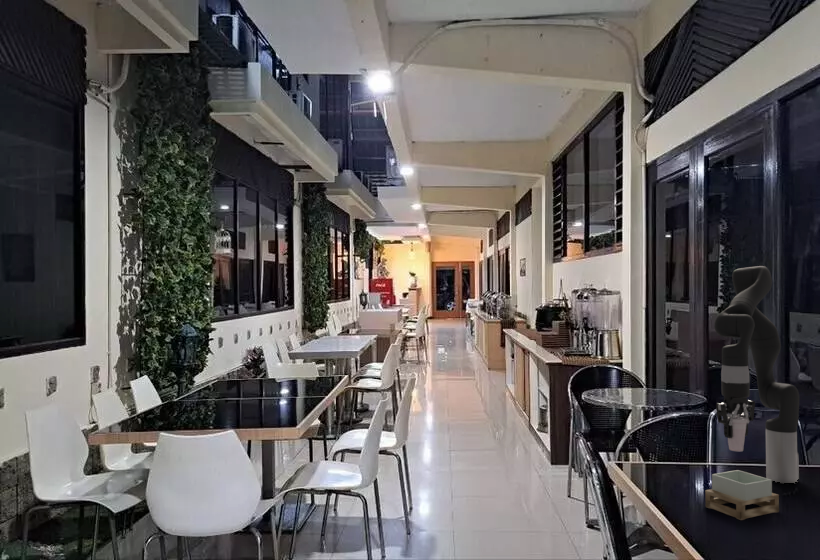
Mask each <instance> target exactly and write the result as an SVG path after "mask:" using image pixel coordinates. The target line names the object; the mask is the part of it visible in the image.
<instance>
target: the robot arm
mask: <svg viewBox="0 0 820 560" xmlns="http://www.w3.org/2000/svg"><path fill="white" fill-rule="evenodd" d="M731 277H732V285H733V288H734V292H735V294H736V295H735V296H734V297H733V298H732V299H731V301H730V303H729V306H727V307H726V308H725V309H724V310H722V311H721V312H720V313H719V314H718V315H717V316H716V318H715V321H714V331H715V332H716V334H717V335H718V336H720V337H723V338H738V339H739V341H738V342H737V343H735V344H729V345H728V344H727V345H724V346H722V348H721V373H720V377H721V378H720V380H721V383H720V384H721V387H720V388H721V395H722V396H723V397H724V399H723V401H722V402H721V403H719V402H716V404H715V409H716V416H717V423H720V424H722V425H723V435H724V438H726V439H728V438H732V437H733V430H732V426H731V425H732V423H733V422H732V419H735V418H736V416H737V415H738V414H739V417H740V416H741V417H744V418H747V419H748V422H747V424H746V432H745V437H747V436H748V434H749V423H750V422H753V421H754V418H755V408H756V401H754V400H749V399H748V398H749V397H750V396H751V393H750V390H751V389H750V387H751V386H750V370H749V369H750V368H749V348H750V351H751V355H752V359H753V365H754V368H755V369H754V370H755V374H756V383H757V391H758V397H759V400H760V402H761V404H762V405H763V406H764V407H765V408H767V409H772V410H777V411H778V412H779V413H778V416H777V417H774V418H770V419H767V420H766V421H765V467H766V468H765V470H766V471H765V474H766V475H765V476H766V477H765V478H767V479H771V480H772V482H773V481H775V482H774V483H777V482H780V483H779V484H784V483H794V484H796V483H795V482H797V483H798V481H797V480H798V479H799V480H800V473H799V471H800V468H799V467H800V465H799V464H800V463H799V455H800V454H799V452H798V430H797V429H798V425H799V418H800V417H799V416H800V393H799V390H798V388H797V387H796V386H795V385H793V384H789V383H783V382H776V380H775V378H774V370H773V369H774V365H775V363H776V361H777V359H778V356H779V354H780V352H781V348H782V345H781V341H780V336H779V332H778V329H777V327H776V325H775V324H774V323H773V321H772V320H770V319H769V318H768V317H767V316H766V315H765V314H764V313H762V311H761V310H759V308H757V306H758V305H759V304H760V302H761V301H762V300H763V299H764V298H765V297H766V296H767V295H768V294H769V292H770V290H771V288H772V285H773V281H772V280H773V279H772V274H771V272H770V270H769V268H768V267H766V266H765V265H764V266H763V265H759V266H758V265H757V266H748V267H741V268H737V269H735V270H733V272H732V275H731ZM727 418H729V421H728V420H727Z"/></svg>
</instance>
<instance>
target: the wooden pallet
mask: <svg viewBox="0 0 820 560" xmlns="http://www.w3.org/2000/svg"><path fill="white" fill-rule="evenodd" d="M779 496H780V494H778V493H774V492H772V496H767V497H762V498H757V499H752V500H748V501H744V500H741V499H739V498H736V497H733V496H730V495H727V494H724V493H721V492H718V491H715V490H712V488H711V489H710V488H709V489H706V490H705V498H704V499H705V508H708V509H712V510H714V511H717V512H720V513H723V514H725V515H727V516H731V517H733V518H736V519H737V520H740V521H744V520H746V519H749V518H754V517H759V516H763V515H767V514H773V513H774V514H775V513H779V512H780V503H779V499H780V497H779ZM729 503H732V504H734V505H735V508H733V507H730V506H728V505H725V504H729ZM752 504H753V505H757V506H759V507H754V508H753V507H752V508H748V509H746V506H747V505H752Z"/></svg>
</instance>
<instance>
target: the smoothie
mask: <svg viewBox="0 0 820 560" xmlns="http://www.w3.org/2000/svg"><path fill="white" fill-rule="evenodd" d="M727 420H728V421H729V418H727ZM732 422H733V423H732V425H731V426H732V430H733V437H732V438H727V444H728V449H729V451H732V452H743V451H744V445H745V440H746V439H745V437H746V436H745V432H746V424H747V422H748V419H747V418H744V417H741V416H740V417H739V414H738V415H736V418H735V419H732Z"/></svg>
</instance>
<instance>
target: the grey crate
mask: <svg viewBox="0 0 820 560" xmlns="http://www.w3.org/2000/svg"><path fill="white" fill-rule="evenodd" d="M711 489H712V490H715V491H718V492H721V493H724V494H727V495H730V496H733V497H736V498H739V499H741V500H744V501H748V500H752V499H757V498H762V497H767V496H772V493H773V481H772V480H771V479H767V478H766V477H763V476H760V475H756V474H753V473H750V472H747V471H743V470H739V469H736V470H730V471H724V472H717V473H712V474H711Z"/></svg>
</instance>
